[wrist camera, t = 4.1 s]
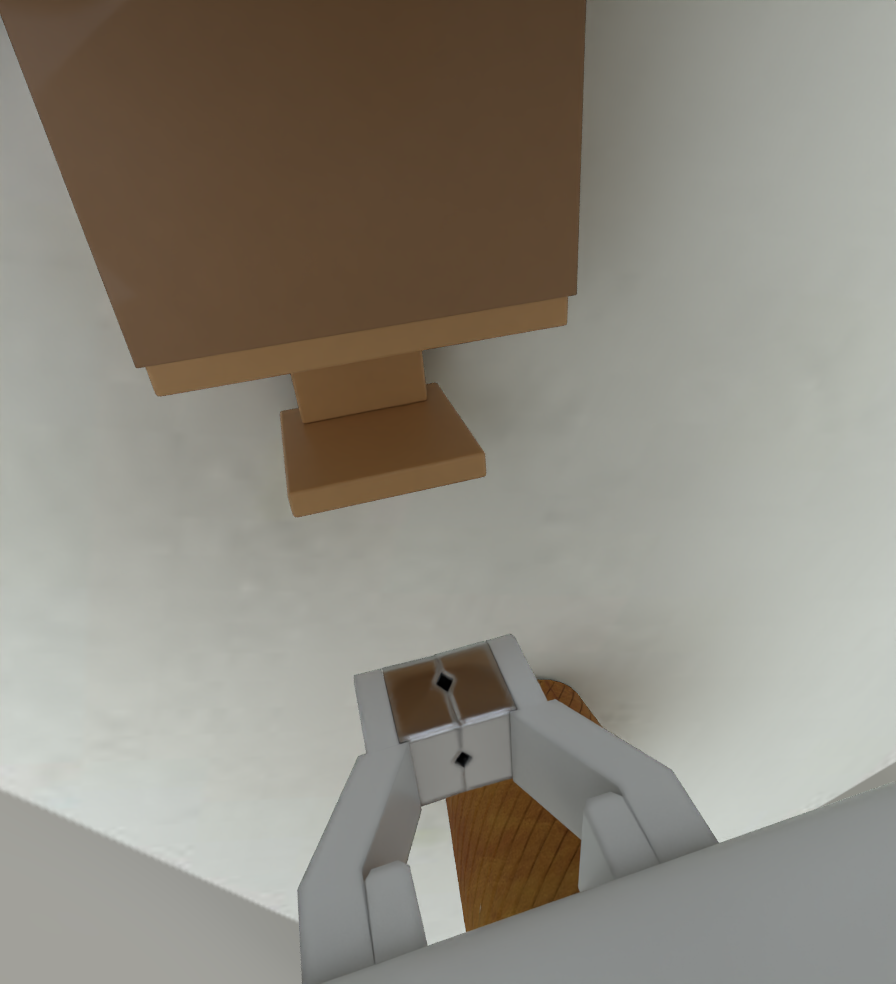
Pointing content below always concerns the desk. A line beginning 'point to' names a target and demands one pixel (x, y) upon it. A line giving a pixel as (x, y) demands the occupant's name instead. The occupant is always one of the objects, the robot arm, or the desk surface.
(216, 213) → the wooden drawer
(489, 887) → the disposable coffee cup
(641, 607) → the desk surface
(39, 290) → the desk surface
